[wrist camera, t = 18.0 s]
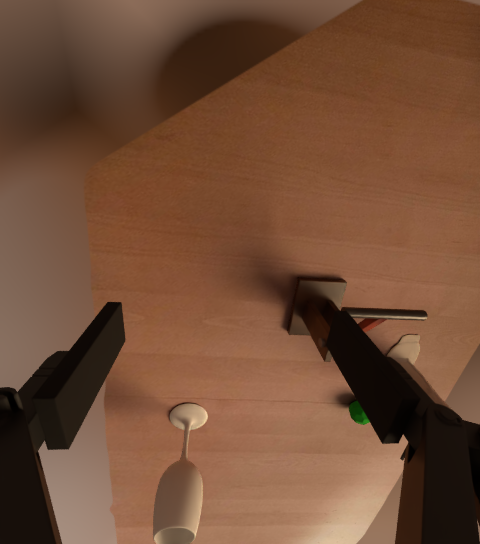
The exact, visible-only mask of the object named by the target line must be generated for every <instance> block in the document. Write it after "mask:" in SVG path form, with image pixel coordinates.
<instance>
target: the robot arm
mask: <svg viewBox="0 0 480 544" xmlns="http://www.w3.org/2000/svg"><path fill="white" fill-rule="evenodd" d="M124 342H125V331H124V322H123V313H122V303H121V302H107V303H106V305H105V306H104V307H103V309H102V310H101V311H100V312H99V314H98V315H97V316H96V317H95V319H94V320H93V321H92V323H91V324H90V325H89V326H88V327H87V329H86V330H85V331H84V333H83V334H82V335H81V336H80V338H79V339H78V340H77V342H76V343H75V344H74V345H73V347H72V348H71V349H70V350H69V351H57V352H56V353H54V354H53V355H51V356H50V357H48V358H47V359H46V360H45V361H44V362H43V364H42V365H41V366H40V367H39V369H38V370H37V371H36V372H35V373H34V374H33V375H32V377H30V378H29V380H28V381H27V382H26V383H25V384H24V385H23V387H22V388H21V389H20V390H19V391H18V392H17V391H16V390H15V389H14V388H10V387H4V388H0V544H62V542H61V537H60V533H59V530H58V526H57V522H56V518H55V515H54V511H53V506H52V503H51V499H50V495H49V491H48V487H47V484H46V479H45V475H44V471H43V468H42V464H41V460H40V456H39V453H38V450H39V448H40V447H41V445H42V443H43V442H44V440H45V442H46V445H47V449H48V450H53V449H55V450H56V449H69V448H70V446H71V444H72V442H73V440H74V438H75V436H76V434H77V432H78V431H79V428H80V427H81V425H82V423H83V421H84V419H85V417H86V415H87V413H88V411H89V409H90V408H91V406H92V404H93V402H94V400H95V398H96V396H97V394H98V392H99V390H100V388H101V386H102V385H103V383H104V381H105V379H106V377H107V375H108V373H109V371H110V369H111V367H112V365H113V363H114V362H115V360H116V358H117V356H118V354H119V352H120V350H121V348H122V346H123V344H124ZM326 347H327V348H328V350H329V352H330V354H331V355H332V357H333V359H334V361H335V362H336V364H337V366H338V367H339V369H340V371H341V373H342V374H343V376H344V378H345V380H346V381H347V383H348V385H349V387H350V388H351V390H352V392H353V394H354V395H355V397H356V399H357V401H358V402H359V404H360V406H361V407H362V409H363V411H364V413H365V414H366V416H367V418H368V420H369V421H370V423H371V425H372V427H373V428H374V430H375V432H376V434H377V435H378V437H379V439H380V440H381V442H382V444H390V443H399V441H400V439H401V437H402V435H403V434H404V436H405V437H406V439H407V440H408V442H409V443H408V445H407V446H406V448H405V450H404V452H403V454H402V456H401V458H400V459H401V460H404V458H405V461H404V470H403V479H402V488H401V497H400V505H399V513H398V522H397V531H396V540H395V544H480V541H479V532H478V524H477V520H478V523H479V526H480V425H479V424H476V423H472V422H468V421H464V420H462V418H461V417H460V416H459V415H458V414H456V413H455V412H454V411H453V410H451V409H449V408H448V407H446V406H444V405H441V404H437V403H435V402H434V401H433V400H432V399H431V398H430V397H429V396H428V395H427V393H426V392H425V391H424V390H423V389H422V388H421V387H420V386H419V384H418V383H417V382H416V381H415V380H413V378H412V377H411V375H410V374H409V373H407V371H406V370H405V369H404V368H403V366H402V365H401V364H400V363H398V362H397V361H396V360H394V359H393V358H391V357H385V356H384V355H383V354H382V352H381V351H380V350H379V349H378V348H377V346H376V345H375V344H374V343H373V342H372V341H371V339H370V338H369V337H368V336H367V335H366V333H365V332H364V331H363V330H362V329H361V328H360V326H359V325H358V324H357V323H356V322H355V320H354V319H353V318H352V317H351V316H350V314H349V313H348V312H347V311H335V313H334V316H333V320H332V324H331V327H330V331H329V335H328V338H327V342H326Z"/></svg>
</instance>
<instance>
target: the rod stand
mask: <svg viewBox="0 0 480 544" xmlns="http://www.w3.org/2000/svg"><path fill="white" fill-rule="evenodd" d="M346 285H347V282H346V281H345V280H338V279H319V278H299V277H298V279H297V284H296V289H295V294H294V299H293V305H292V310H291V315H290V320H289V325H288V330H287V331H288V334H289V335H311V337H312V339H313V341H314V342H315V344H316V346H317V348H318V350H319V352H320V354H321V356H322V358H323V360H324V362H331V359H332V355H331V354H330V352H329V350H328V348H327V347H326V342H327V338H328V335H329V331H330V327H331V324H332V320H333V316H334V313H335V311H340V306H341V303H342V299H343V295H344V292H345V288H346Z"/></svg>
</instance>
